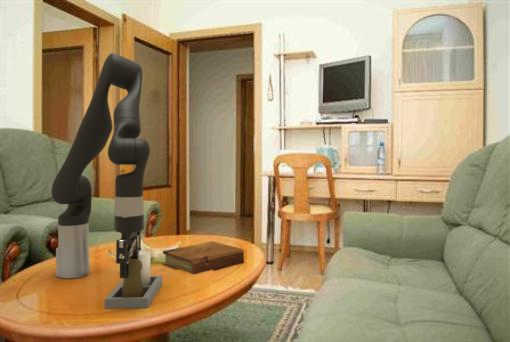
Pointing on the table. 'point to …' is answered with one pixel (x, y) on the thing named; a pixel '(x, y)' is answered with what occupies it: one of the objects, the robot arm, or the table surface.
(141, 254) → the cylinder
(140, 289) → the cork
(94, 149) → the robot arm
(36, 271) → the table surface
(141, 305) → the tray
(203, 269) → the diary
